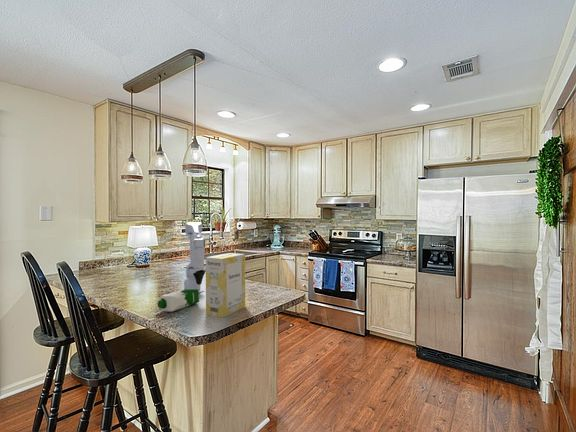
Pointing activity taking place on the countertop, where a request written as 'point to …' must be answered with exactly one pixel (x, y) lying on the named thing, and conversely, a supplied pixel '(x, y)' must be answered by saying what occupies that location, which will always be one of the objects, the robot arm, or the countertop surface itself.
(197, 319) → the countertop surface
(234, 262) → the pasta box
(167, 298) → the soya milk
